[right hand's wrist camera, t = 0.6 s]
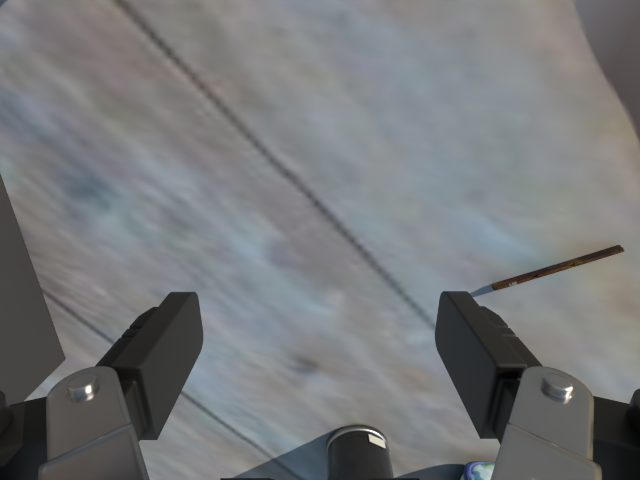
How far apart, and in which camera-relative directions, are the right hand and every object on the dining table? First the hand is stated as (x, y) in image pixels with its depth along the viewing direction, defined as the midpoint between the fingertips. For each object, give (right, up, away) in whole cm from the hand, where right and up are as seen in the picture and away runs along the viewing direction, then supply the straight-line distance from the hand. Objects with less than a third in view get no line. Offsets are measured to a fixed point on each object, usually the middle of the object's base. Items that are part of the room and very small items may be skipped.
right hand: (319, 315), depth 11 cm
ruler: (+28, -1, +30) cm, 41 cm away
